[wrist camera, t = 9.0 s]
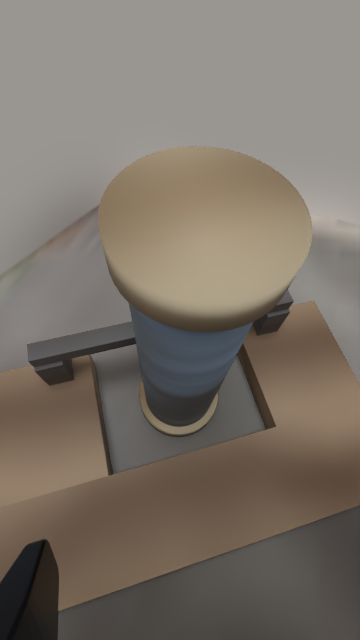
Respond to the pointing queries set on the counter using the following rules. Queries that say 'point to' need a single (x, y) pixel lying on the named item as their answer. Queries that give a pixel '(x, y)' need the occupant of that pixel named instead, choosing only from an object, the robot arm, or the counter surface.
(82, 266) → the counter surface
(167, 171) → the spool
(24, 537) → the board
